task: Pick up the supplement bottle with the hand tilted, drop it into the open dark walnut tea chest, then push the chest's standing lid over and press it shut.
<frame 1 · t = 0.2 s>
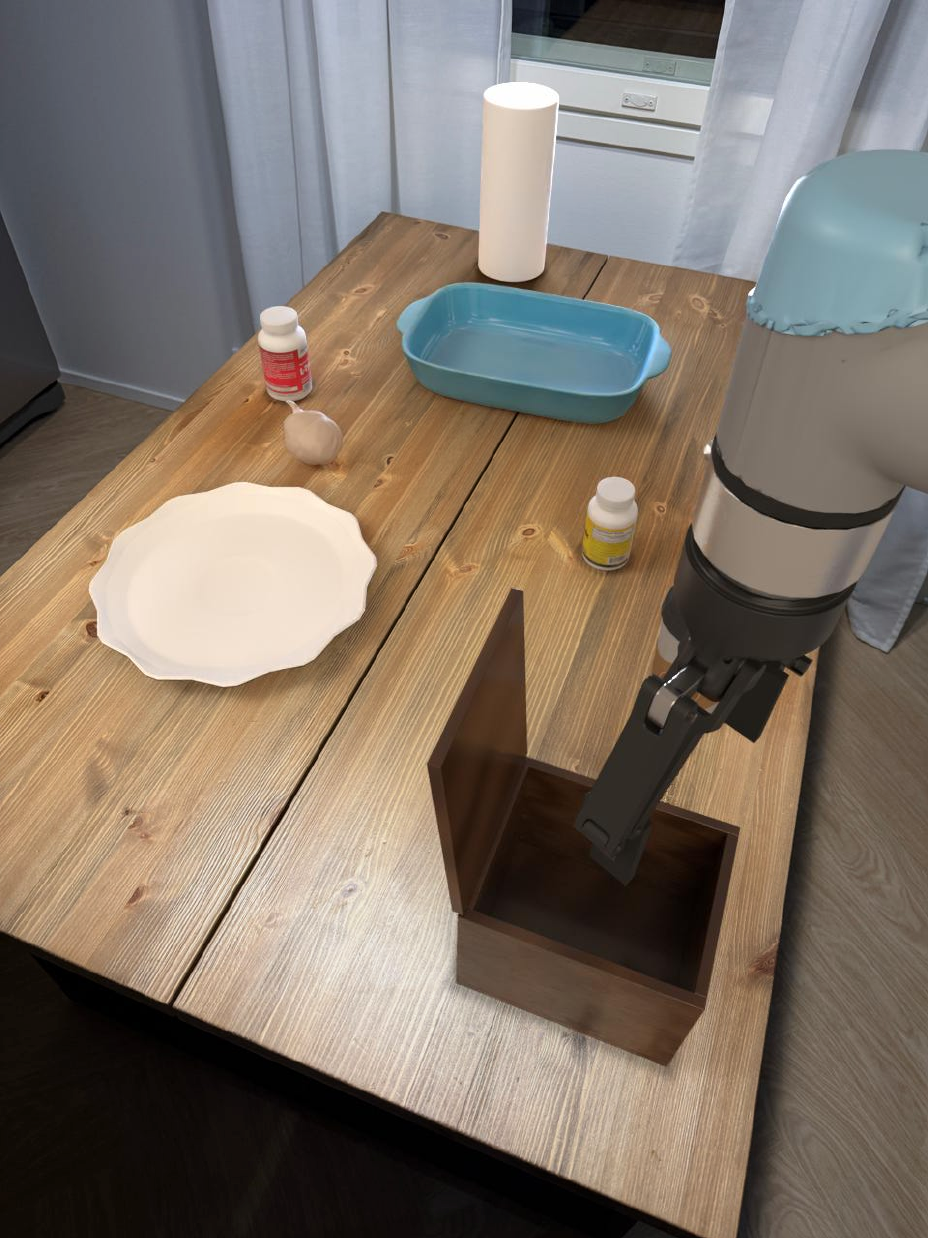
hand: (678, 793, 55), 22 cm above the table, tool pointing down, fingers open, 13 cm apart
casserole dish: (528, 379, 123), on the table
supplement bottle: (604, 556, 100), on the table
tall pillar cylinder: (511, 266, 144), on the table
garlic bulb: (316, 460, 111), on the table
pill bottle: (290, 391, 121), on the table
plate: (239, 589, 96), on the table
lid: (486, 757, 57), point 22 cm above the table, hinge at 95.0°
chest: (583, 941, 71), on the table
coffee cup: (680, 704, 87), on the table
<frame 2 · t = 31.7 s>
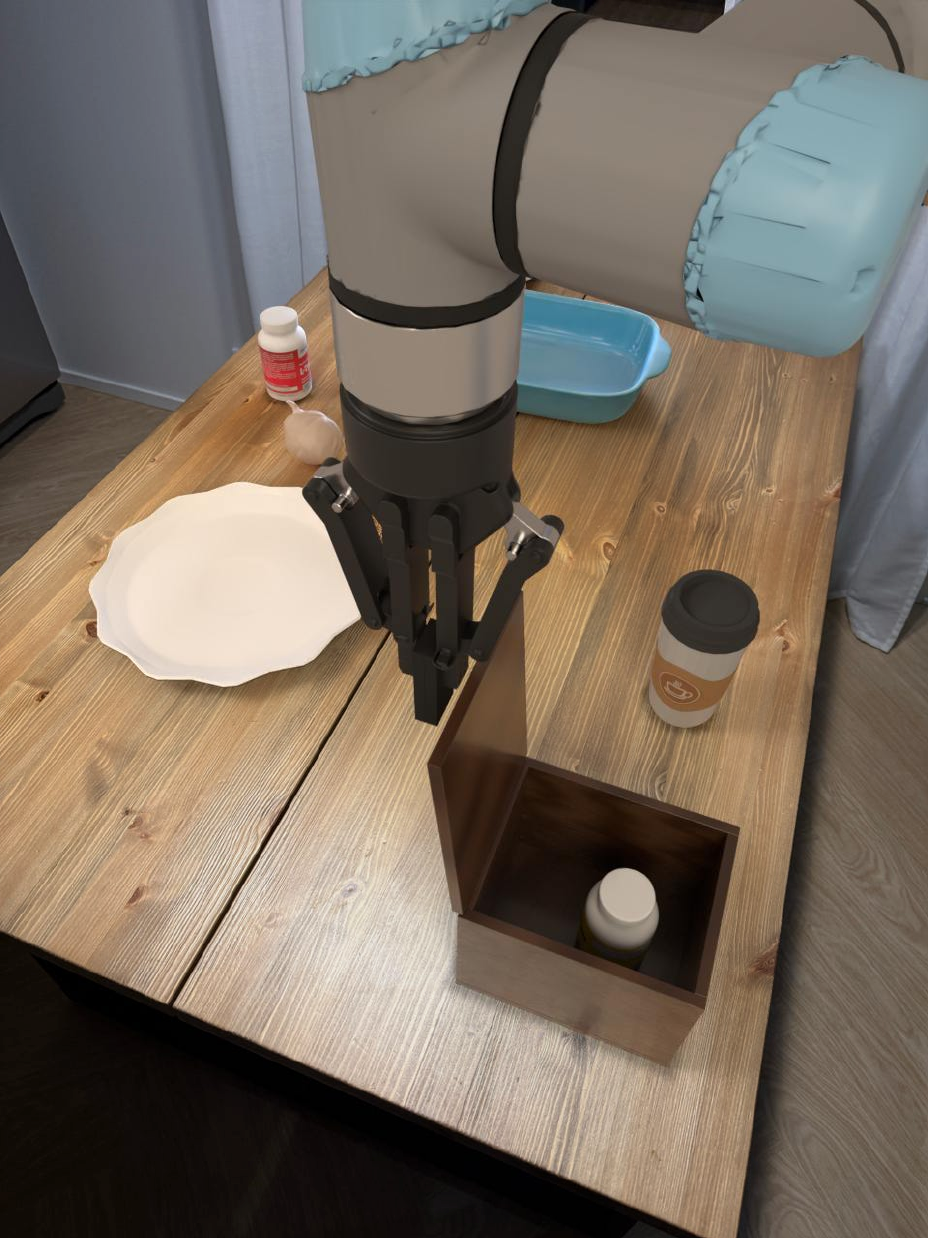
hand: (434, 705, 55), 26 cm above the table, tool pointing down, fingers closed
supplement bottle: (609, 947, 70), point 1 cm above the table, touching chest
lid: (486, 757, 57), point 22 cm above the table, hinge at 95.0°, touching gripper
everything else where it was.
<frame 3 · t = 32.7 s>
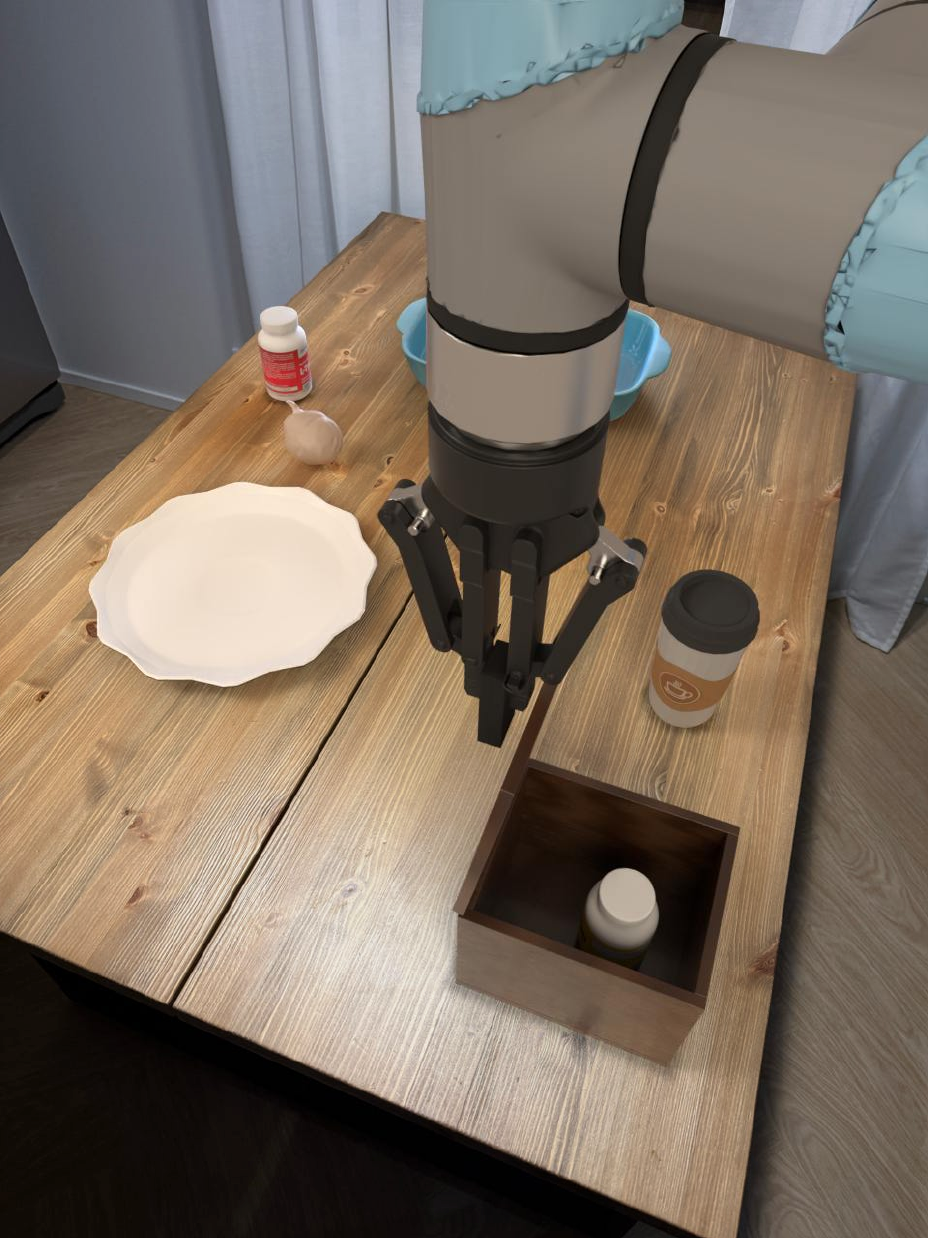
hand: (496, 727, 54), 26 cm above the table, tool pointing down, fingers closed
lid: (516, 767, 56), point 22 cm above the table, hinge at 81.6°, touching gripper
everything else where it was.
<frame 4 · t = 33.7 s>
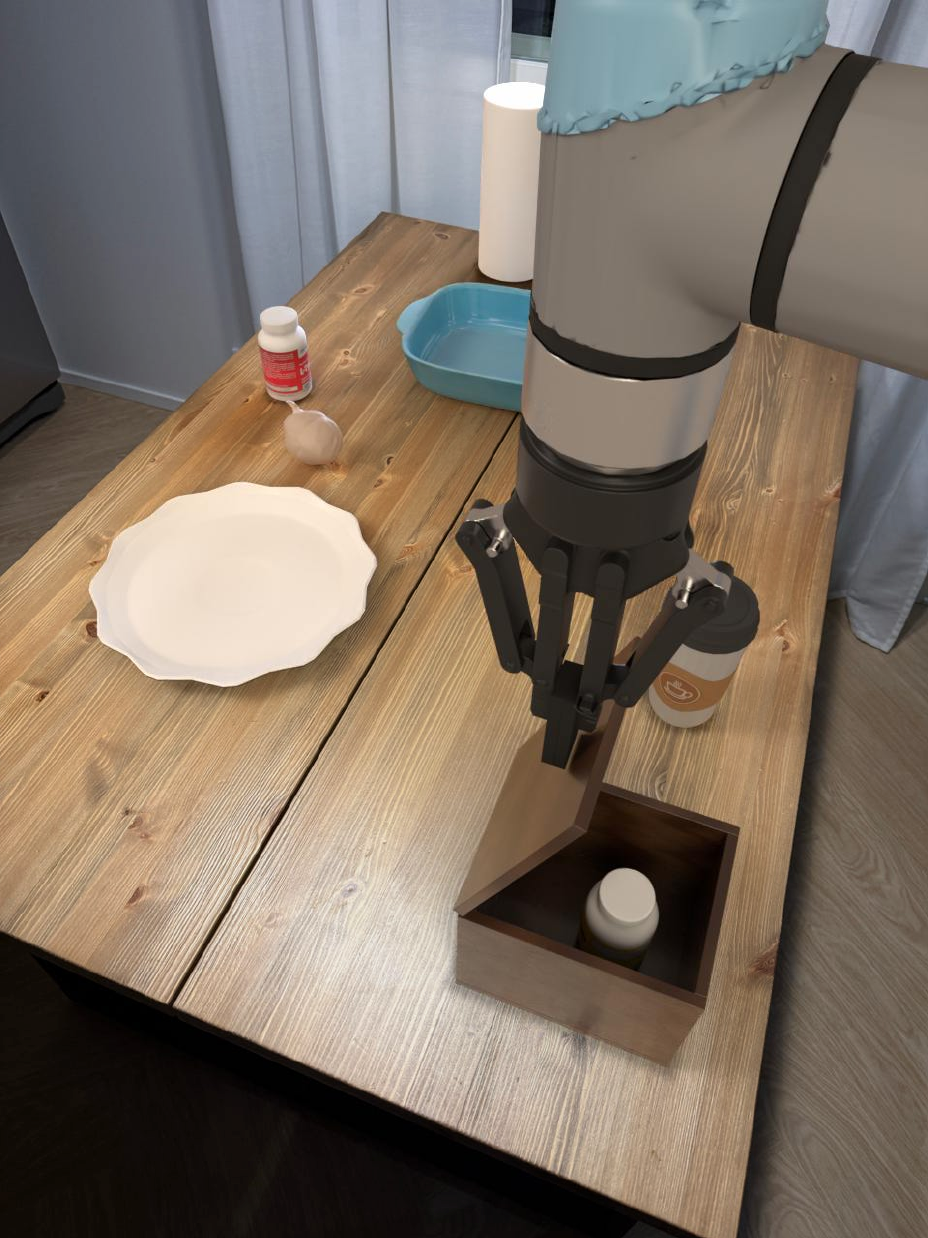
hand: (559, 747, 53), 26 cm above the table, tool pointing down, fingers closed
lid: (545, 782, 56), point 21 cm above the table, hinge at 68.0°, touching gripper
everything else where it was.
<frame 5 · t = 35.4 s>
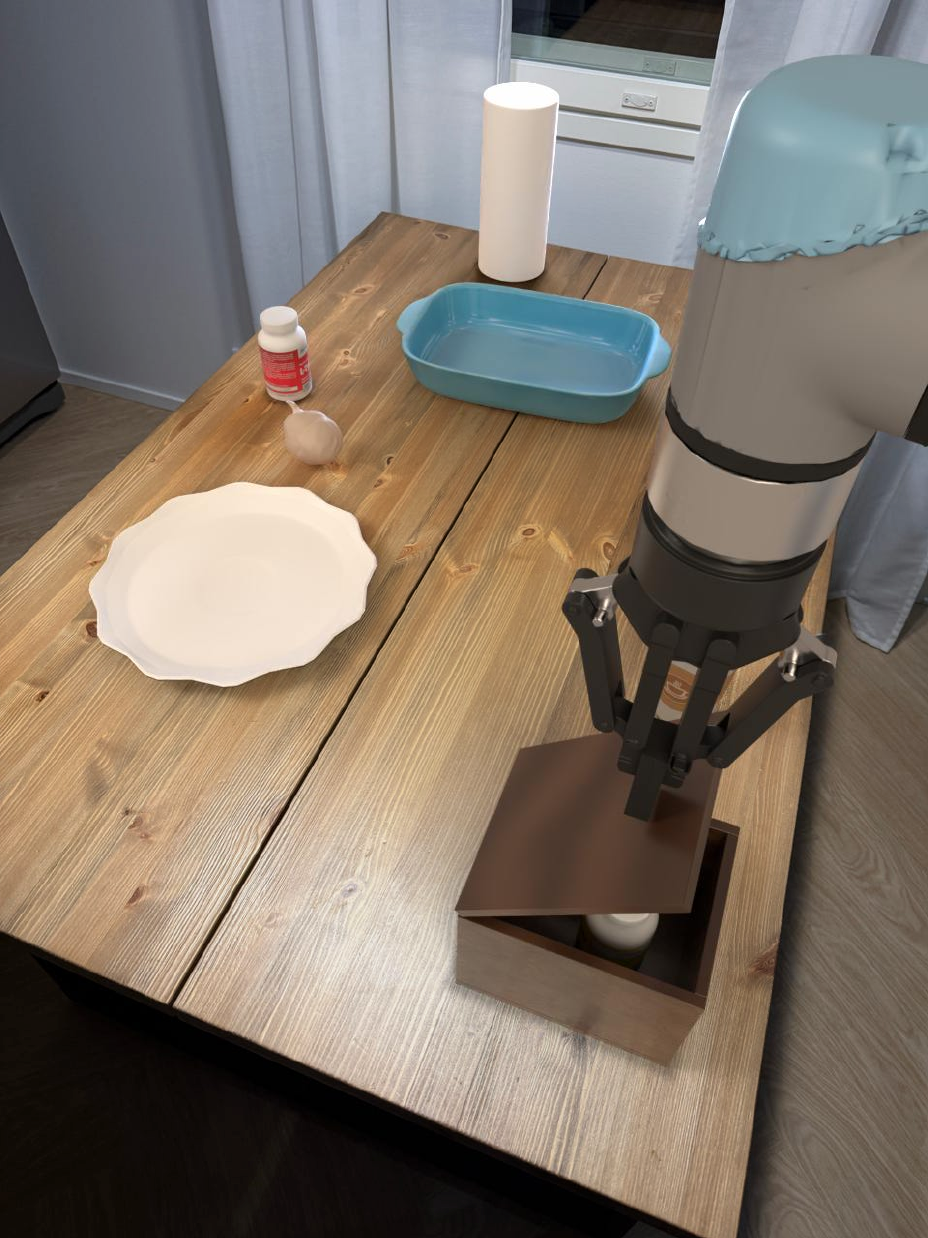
hand: (640, 799, 54), 23 cm above the table, tool pointing down, fingers closed
lid: (590, 816, 57), point 19 cm above the table, hinge at 42.2°, touching gripper
everything else where it was.
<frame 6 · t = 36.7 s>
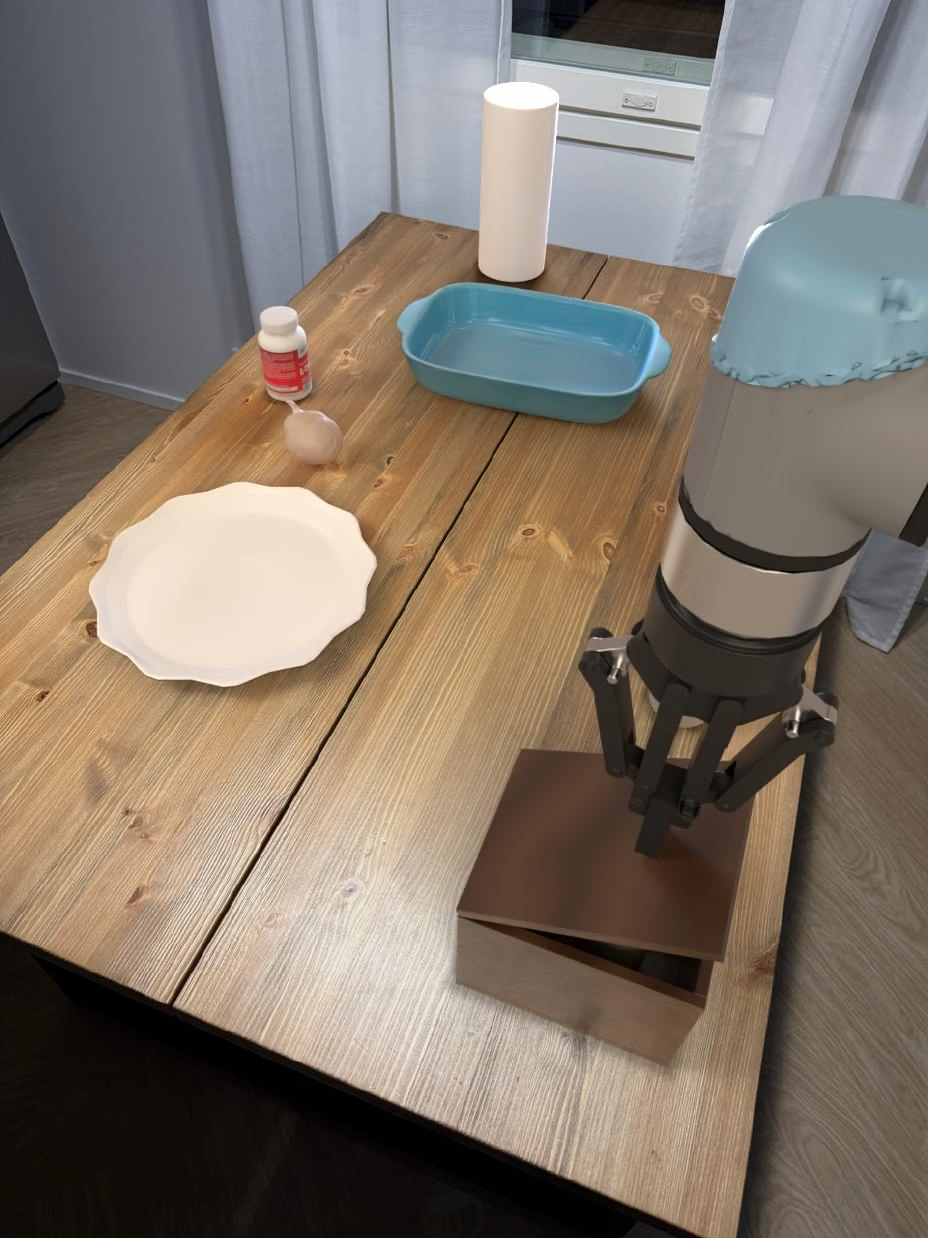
hand: (650, 836, 56), 19 cm above the table, tool pointing down, fingers closed
lid: (607, 840, 59), point 17 cm above the table, hinge at 24.9°
everything else where it was.
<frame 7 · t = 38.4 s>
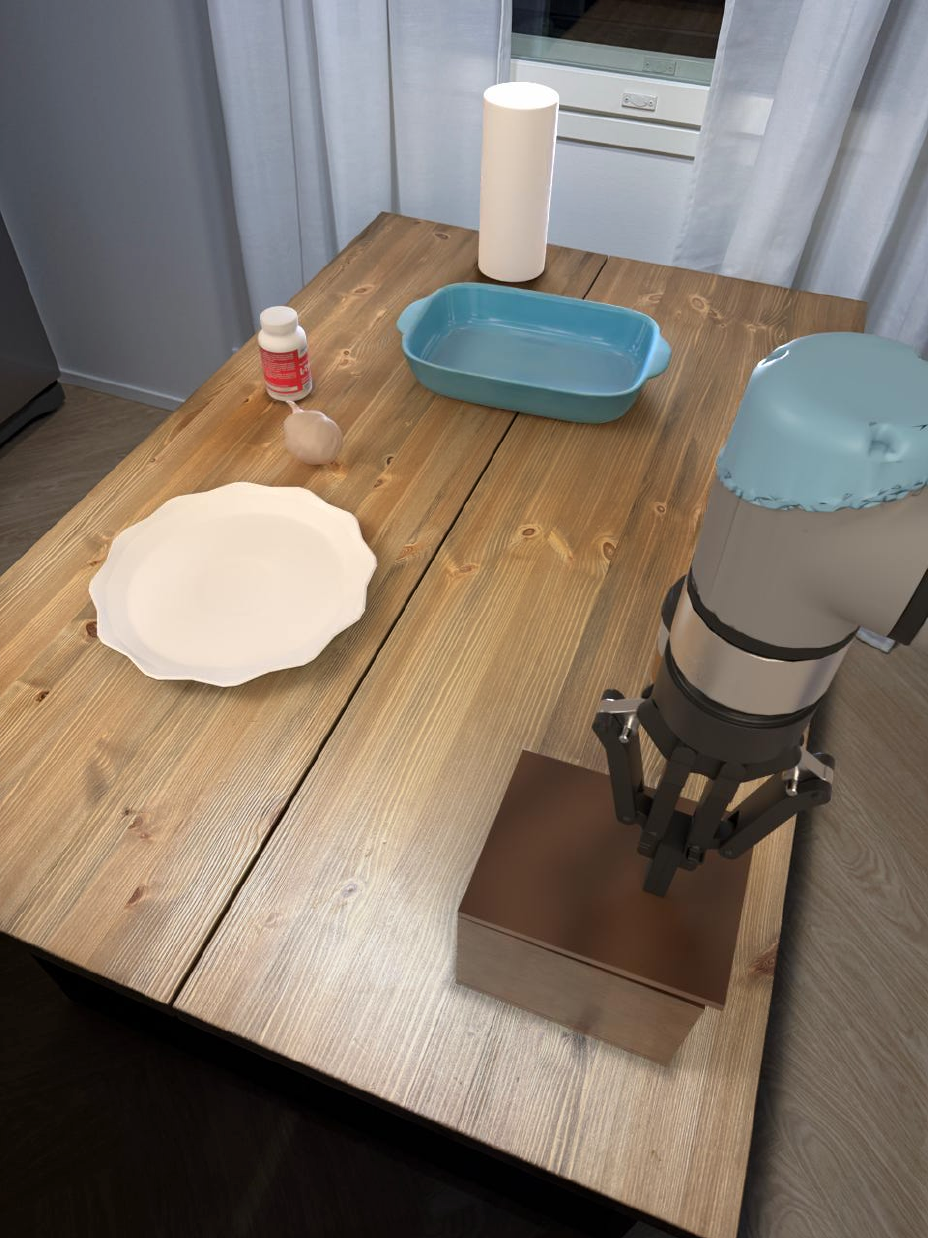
hand: (657, 876, 60), 14 cm above the table, tool pointing down, fingers closed
lid: (612, 866, 61), point 14 cm above the table, hinge at 2.5°, touching gripper
everything else where it was.
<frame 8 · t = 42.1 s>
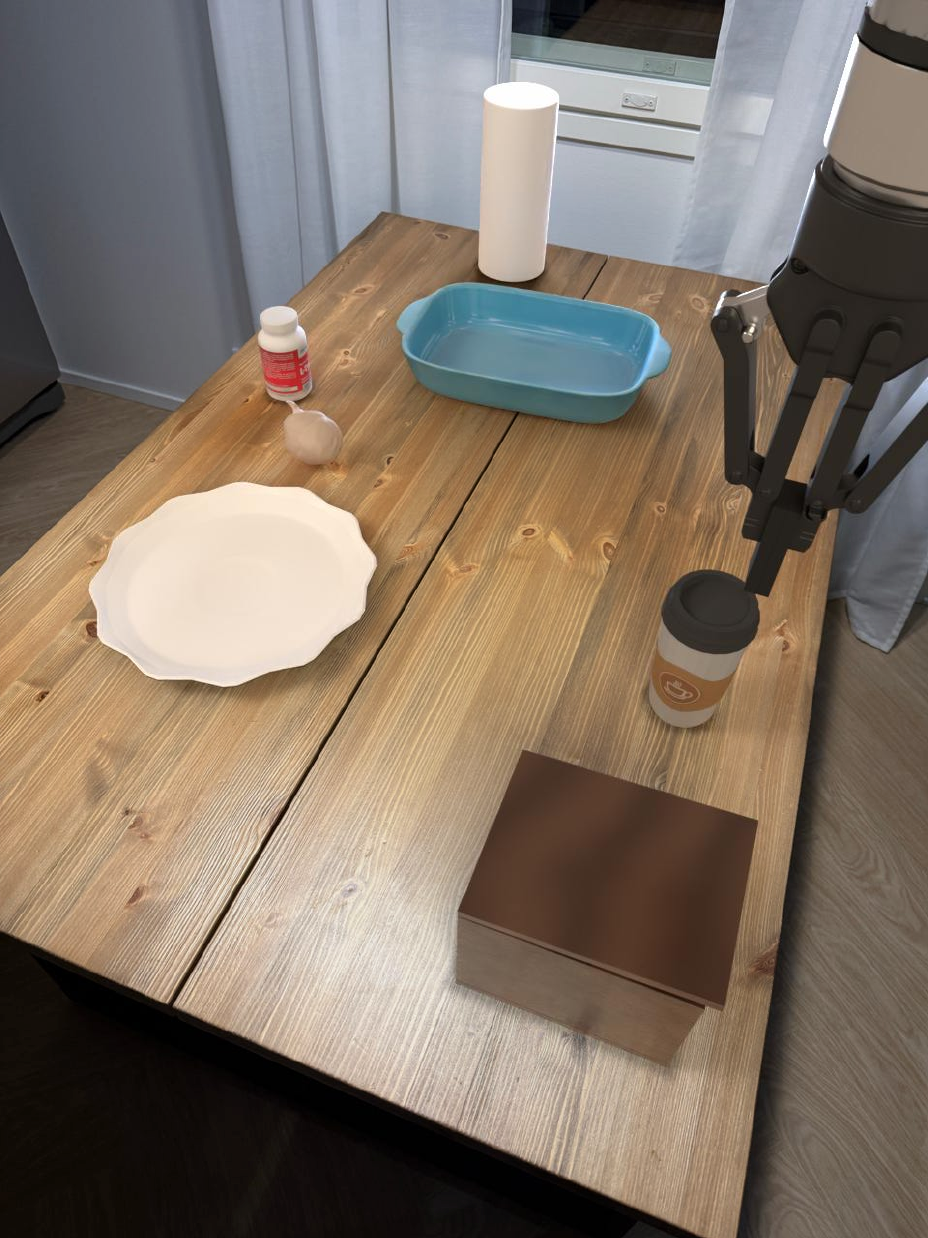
hand: (759, 578, 53), 32 cm above the table, tool pointing down, fingers closed
lid: (612, 866, 61), point 14 cm above the table, hinge at 2.4°
everything else where it was.
at the end: supplement bottle inside the target area in the chest (2.1 cm from its centre), point 0.6 cm above the chest's base; lid at +2° (first picture: +95°) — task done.
